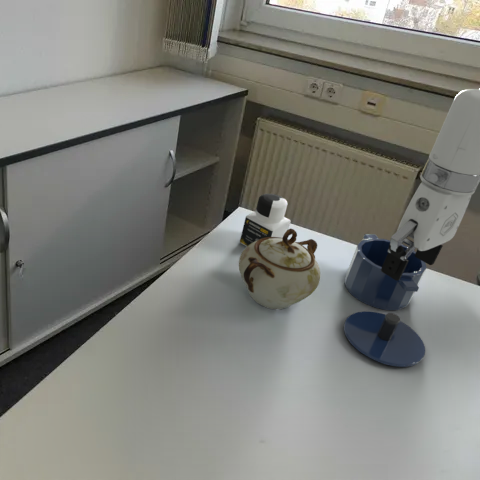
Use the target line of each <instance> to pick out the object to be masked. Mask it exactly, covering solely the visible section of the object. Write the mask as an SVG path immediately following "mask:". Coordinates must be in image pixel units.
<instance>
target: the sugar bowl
mask: <svg viewBox="0 0 480 480" xmlns="http://www.w3.org/2000/svg"><path fill="white" fill-rule="evenodd" d="M289 236H290V238H289ZM297 237H298V232H297V231H296V230H295V229H294V228H289V229H288V230H287V231H286V232H285V234H284V236H283V238H280V237H266V238H262V239H260V240H258V241H255V242H253V243H251V244H250V245H248V246H245V248H244V249H243V250H242V252H241V253H240V256H239V258H238V271H239V274H240V276H241V279H242V281H243V283H244V286H245V287H246V289H247V291H248V294H249V296H250V297H251V299H252V300H253V301H255V302H256V304H258V305H260V306H261V307H264V308H267V309H270V310H284V309H286V308H288V307H290V306H293V305H296V304H297V303H300V302H302V301H303V300H305V299H306V298H308V297H309V296H311V295H312V294H313V293H314V292H315V291H316V290H317V288H318V286H319V284H320V281H321V269H320V266H319V264H318V261H317V260H316V255H315V253H316V250H317V249H318V243H317V241H316V240H315V239H312V238H310V239H307V240H303V241H297Z"/></svg>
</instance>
